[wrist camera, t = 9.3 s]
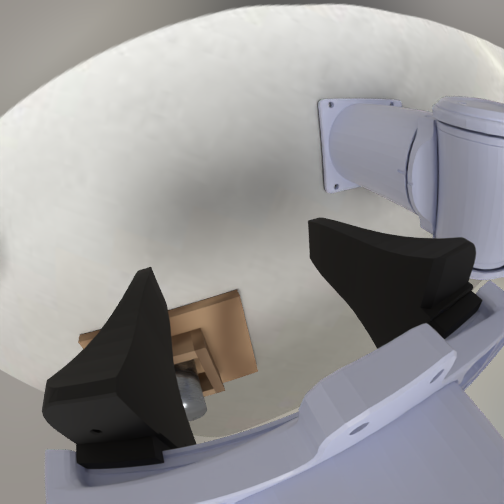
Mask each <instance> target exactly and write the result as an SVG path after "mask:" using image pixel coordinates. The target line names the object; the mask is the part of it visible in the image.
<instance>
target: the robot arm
mask: <svg viewBox="0 0 504 504" xmlns="http://www.w3.org/2000/svg"><path fill="white" fill-rule="evenodd" d="M329 102H330V103H331V107H329V106H328V104H329ZM390 103H391V106H390ZM318 109H319V119H320V129H321V140H322V153H323V168H324V185H325V190H326V192H328V193H335V192H339V191H343V190H348V189H352V188H357V187H361V186H362V187H364V188H366V189H368V190H370V191H372V192H374V193H376V194H378V195H380V196H382V197H384V198H386V199H388V200H390V201H392V202H394V203H396V204H398V205H400V206H402V207H404V208H406V209H408V210H409V211H411V212H413V213H415V214H417V215H418V216H419V218H420V227H421V228H423V229H424V230H426V231H428V232H429V233H431V234H433V238H414V237H404V236H397V235H391V234H385V233H380V232H376V231H372V230H367V229H364V228H360V227H356V226H353V225H349V224H345V223H342V222H338V221H335V220H330V219H326V218H316V219H313V220H309V221H308V227H309V248H310V259H311V261H312V262H313V264H314V265H315V267H316V268H317V270H318V271H319V272H320V274H321V275H322V276H323V277H324V278H325V279H326V281H327V282H328V283H329V284H330V285H331V286H332V287H333V288H334V289H335V290H336V291H337V293H338V294H339V295H340V296H341V297H342V298H343V299H344V300H345V301H346V302H347V304H348V305H349V306H350V307H351V308H352V310H353V311H354V312H355V314H356V315H357V317H358V318H359V320H360V321H361V323H362V324H363V326H364V327H365V329H366V330H367V332H368V334H369V335H370V337H371V338H372V340H373V342H374V344H375V345H376V347H377V349H376V350H375V351H373V352H371V353H369V354H367V355H365V356H364V357H362V358H360V359H358V360H356V361H354V362H352V363H350V364H348V365H346V366H344V367H342V368H340V369H338V370H336V371H335V372H333V373H332V374H330V375H328V376H327V377H325V378H323V379H322V380H320V381H319V382H318V383H317V384H316V385H315V386H314V387H313V388H311V389H310V390H309V391H308V392H307V393H306V394H305V396H304V399H303V401H302V403H301V405H300V407H299V412H296V413H294V414H291V415H289V416H286V417H284V418H281V419H278V420H276V421H273V422H270V423H268V424H265V425H262V426H259V427H256V428H253V429H250V430H247V431H244V432H240V433H238V434H234V435H230V436H227V437H224V438H220V439H216V440H213V441H208V442H204V443H200V444H196V442H195V439H194V436H193V433H192V431H191V428H190V425H189V422H188V418H187V415H186V412H185V409H184V405H183V402H182V398H181V395H180V391H179V387H178V383H177V378H176V374H175V368H174V361H173V350H172V339H171V326H170V319H169V314H168V309H167V304H166V301H165V299H164V297H163V295H162V292H161V290H160V288H159V285H158V283H157V280H156V278H155V275H154V273H153V271H152V268H151V267H149V268H146V269H142V270H139V271H138V272H137V273H136V275H135V276H134V278H133V280H132V282H131V284H130V285H129V287H128V289H127V291H126V292H125V294H124V296H123V298H122V299H121V301H120V302H119V304H118V306H117V307H116V309H115V310H114V312H113V313H112V315H111V316H110V318H109V319H108V321H107V322H106V323H105V325H104V326H103V327H102V329H101V330H100V331H99V332H98V334H97V335H96V336H95V337H94V338H93V339H92V340H91V341H90V343H89V344H88V345H87V346H86V347H85V348H84V349H83V350H82V351H81V352H80V353H79V354H78V355H77V356H76V357H75V358H74V359H73V360H72V361H71V362H69V363H68V364H67V365H66V366H65V367H64V368H62V369H61V370H60V371H58V372H57V373H56V374H55V375H53V376H52V377H51V378H49V379H48V380H47V383H46V388H45V394H44V401H43V407H42V413H43V416H44V418H45V419H46V421H47V422H48V423H49V424H50V425H51V426H52V427H53V428H54V429H56V430H57V431H58V432H60V433H61V434H62V435H64V436H65V437H67V438H68V439H70V440H71V441H73V442H74V443H76V452H75V451H72V450H66V449H65V450H64V449H58V450H57V449H47V450H45V490H46V504H504V439H503V438H502V436H501V435H500V434H499V433H498V431H497V430H496V429H495V427H494V426H493V425H492V424H491V422H490V421H489V420H488V419H487V418H486V416H485V415H484V414H483V413H482V411H480V409H479V408H478V407H477V406H476V404H475V403H474V402H473V401H472V400H471V399H470V397H469V396H468V395H467V394H466V393H465V392H464V391H465V389H467V388H468V386H469V385H470V384H471V383H472V382H473V381H474V380H475V379H476V378H477V377H478V376H479V374H480V373H481V372H482V371H483V370H484V369H485V368H486V366H487V365H488V364H489V363H490V362H491V361H492V359H493V358H494V357H495V356H496V355H497V353H498V352H499V351H500V350H501V348H502V347H503V346H504V291H503V290H502V289H501V288H500V287H498V286H497V285H496V284H494V283H493V282H492V281H491V280H490V279H495V278H500V277H504V104H503V103H499V102H495V101H491V100H486V99H480V98H473V97H462V96H447V97H442V98H441V99H440V100H439V101H438V102H437V103H436V104H434V105H433V106H432V110H433V112H429V111H423V110H417V109H410V108H403V107H402V103H401V101H400V100H393V99H366V98H342V99H321V100H320V101H319V103H318ZM335 184H336V188H334V186H335ZM469 278H472V279H477V280H490V281H488V282H487V283H486V284H484V285H483V286H482V287H481V288H480V289H479V290H478V292H477V293H476V294H475V293H473V292H472V291H471V290H472V289H473V285H472V284H470V283H469V282H468V281H469Z"/></svg>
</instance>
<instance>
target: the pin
mask: <svg viewBox="0 0 504 504" xmlns="http://www.w3.org/2000/svg"><path fill="white" fill-rule="evenodd" d="M174 368H175V374H176V378H177V383H178V387H179V391H180V395H181V398H182V402H183V405H184V409H185V412H186V415H187V418H188V421H192V420H196V419H198V418H200V417H202V416H203V415H204V414H205V413H206V411H207V407H206V403H205V400H204V396H203V392H202V388H201V384H200V381H199V377H198V372H197V368H196V364H195V360H194V359H191V360H188V361H184V362H181V363H177V364H174Z"/></svg>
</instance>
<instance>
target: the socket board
mask: <svg viewBox="0 0 504 504" xmlns="http://www.w3.org/2000/svg"><path fill="white" fill-rule="evenodd" d="M168 314H169V319H170V326H171V339H172V350H173V361H174V364H177V363H181V362H184V361H188V360H191V359H194V360H195V364H196V368H197V372H198V377H199V381H200V384H201V388H202V392H203V396H204V397H205V396H208V395H212V394H215V393H219V392H222V391H225V388H224V385H223V383H224V382H228V381H231V380H234V379H237V378H240V377H243V376H246V375H249V374H252V373H255V372H258V370H257V365H256V361H255V357H254V353H253V349H252V345H251V341H250V337H249V333H248V328H247V324H246V320H245V316H244V312H243V307H242V303H241V299H240V295H239V293H238V291H237V290H234V291H231V292H228V293H224V294H221V295H218V296H215V297H212V298H208V299H205V300H202V301H199V302H195V303H192V304H189V305H185V306H182V307H179V308H175V309H172V310H168ZM99 331H100V330H97V331H93V332H89V333H85V334H82V335H80V336H79V341H78V343H79V344H80V345H81V346H82V348H83V349H84V348H85V347H86V346H87V345H88V344H89V343H90V341H91V340H92V339H93V338H94V337H95V336H96V335H97V334H98V332H99Z"/></svg>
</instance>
